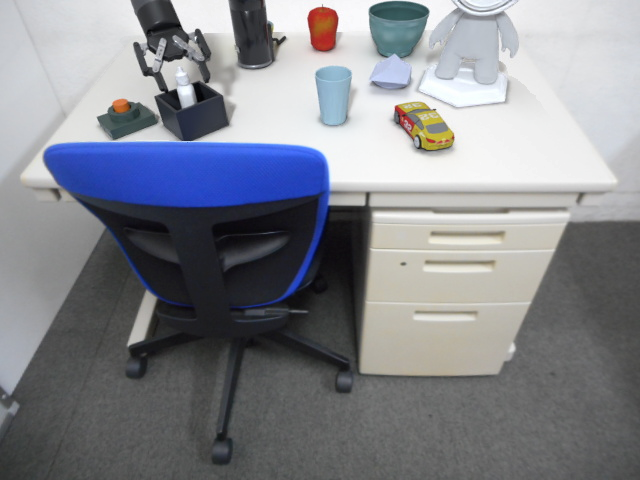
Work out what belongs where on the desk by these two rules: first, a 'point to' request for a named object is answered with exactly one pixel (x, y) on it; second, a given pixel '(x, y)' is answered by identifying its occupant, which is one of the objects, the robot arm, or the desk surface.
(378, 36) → the flower pot
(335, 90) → the cup
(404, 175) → the desk surface
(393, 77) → the wedge on round base
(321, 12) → the apple
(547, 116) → the desk surface
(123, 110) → the button
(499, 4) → the white toy figurine
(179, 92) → the eye dropper bottle
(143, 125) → the control block
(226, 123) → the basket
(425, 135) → the toy car
